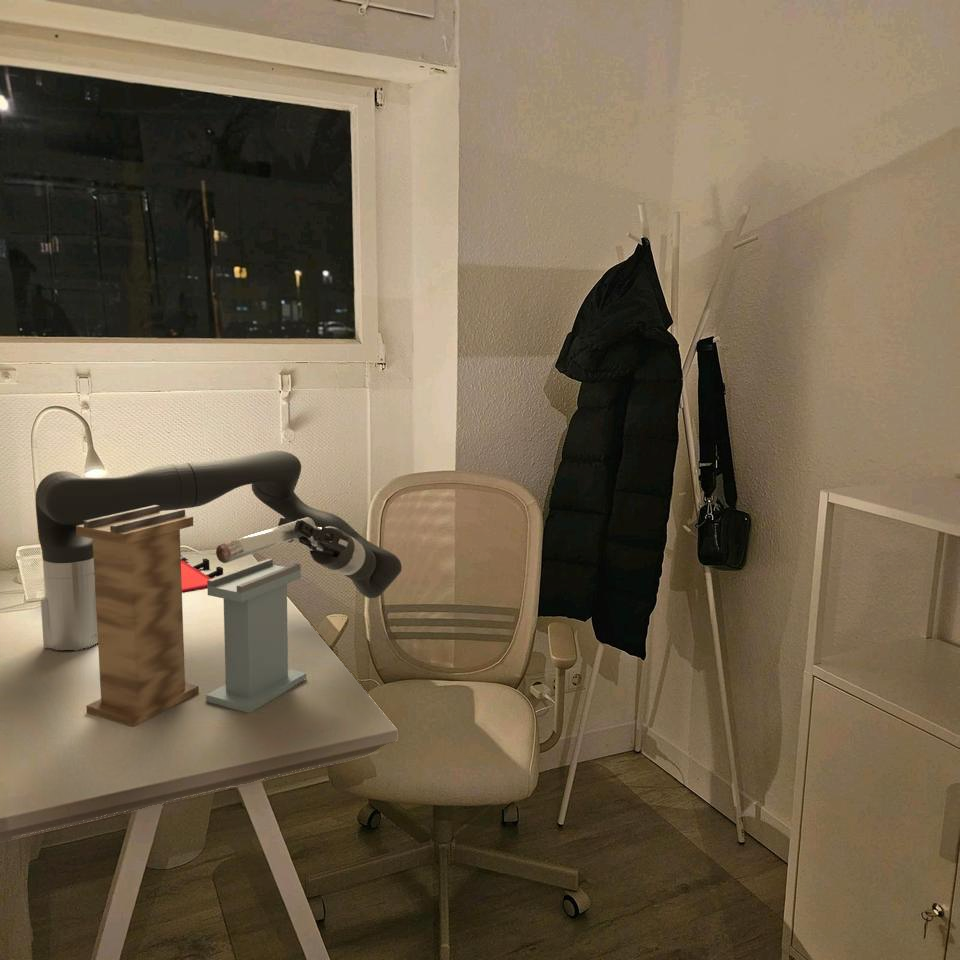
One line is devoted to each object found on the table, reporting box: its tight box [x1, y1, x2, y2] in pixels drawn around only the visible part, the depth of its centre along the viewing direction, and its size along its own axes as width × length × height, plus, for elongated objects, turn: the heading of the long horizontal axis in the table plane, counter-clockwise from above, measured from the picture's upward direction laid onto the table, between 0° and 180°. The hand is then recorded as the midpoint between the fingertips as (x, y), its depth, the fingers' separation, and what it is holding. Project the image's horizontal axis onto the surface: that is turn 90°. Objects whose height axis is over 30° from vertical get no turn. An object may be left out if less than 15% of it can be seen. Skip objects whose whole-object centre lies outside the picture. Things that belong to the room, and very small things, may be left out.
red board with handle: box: [181, 555, 224, 593], centre depth 206 cm, size 30×3×15 cm
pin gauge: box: [215, 517, 315, 564], centre depth 140 cm, size 22×3×3 cm, turn 155°
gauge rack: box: [205, 558, 307, 714], centre depth 140 cm, size 15×9×21 cm, turn 155°
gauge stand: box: [76, 505, 199, 728], centre depth 133 cm, size 14×10×32 cm
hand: (289, 523), depth 145 cm, fingers closed on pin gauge, 3 cm apart
